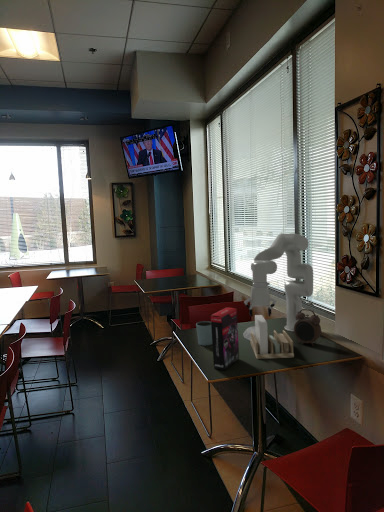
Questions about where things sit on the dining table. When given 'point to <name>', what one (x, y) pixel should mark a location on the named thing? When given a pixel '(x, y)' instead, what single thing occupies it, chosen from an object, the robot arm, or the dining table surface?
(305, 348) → the dining table surface
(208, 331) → the grey cylindrical cup
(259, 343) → the white rectangular block
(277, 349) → the sage offcut
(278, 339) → the rack
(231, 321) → the graphics card box
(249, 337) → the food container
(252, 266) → the robot arm
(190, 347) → the dining table surface
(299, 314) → the alarm clock
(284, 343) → the plywood offcut
